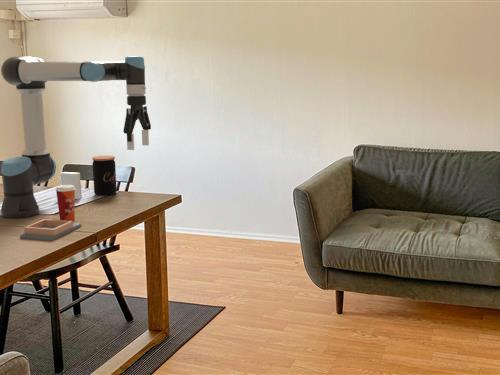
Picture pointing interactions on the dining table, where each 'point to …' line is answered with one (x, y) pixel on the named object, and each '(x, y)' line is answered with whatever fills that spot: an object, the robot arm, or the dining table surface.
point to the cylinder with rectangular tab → (72, 182)
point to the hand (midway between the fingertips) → (138, 147)
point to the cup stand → (49, 229)
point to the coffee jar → (104, 175)
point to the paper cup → (66, 202)
